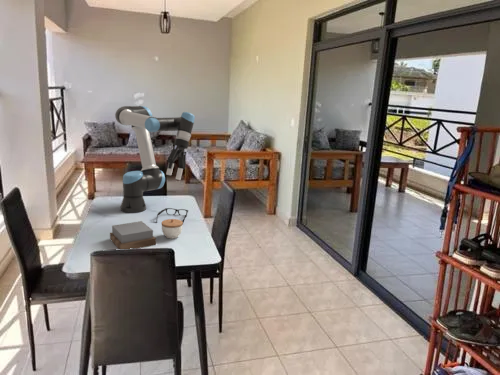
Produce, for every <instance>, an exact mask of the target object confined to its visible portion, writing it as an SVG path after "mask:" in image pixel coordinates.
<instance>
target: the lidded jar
mask: <svg viewBox="0 0 500 375" xmlns="http://www.w3.org/2000/svg"><path fill="white" fill-rule="evenodd" d="M182 221H183V220H182V219H181V220H180V219H176V218H168V219H164V220H162V221H161V232H162V233H163V235H164V236H165V237H166V239H176V238H177V239H178V237H179V236H180V235H181V233H182V230H183V225H184V223H183V222H182Z"/></svg>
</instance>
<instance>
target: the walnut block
mask: <svg viewBox="0 0 500 375" xmlns="http://www.w3.org/2000/svg"><path fill="white" fill-rule="evenodd" d="M109 239H111V240H112V241H111V240H110V241H111V242H112V243H113V244H114V245H115V247H116V248H117V249H118V250H119V249H130V248H136V249H139V248H140V247H141V248H145V247H146V248H147V247H151V246H156V245H157V238H156V237H155V236H154V235H153V238H149V239H144V240H138V241H133V242H127V243H121V242H120V241H119V240H118V239H117V238H116V237H115V236H114V234H113V233H112V232H109ZM130 250H131V249H130Z"/></svg>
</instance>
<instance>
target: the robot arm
mask: <svg viewBox="0 0 500 375" xmlns="http://www.w3.org/2000/svg"><path fill="white" fill-rule="evenodd" d="M114 115H115V116H114V118H115V120H116V122H117V123H118V124H120V125H123V126H131V129H132V130H133V131H134V132H135V133H134V134H135V137H136V141H137V142H136V143H137V147H138V151H139V157H140V164H141V167H142V168H141V170H132V171H127V172H126V173H124V174H123V176H122V192H123V195H122V196H123V197H122V200H121V204H120V211H121V212H124V213H130V214H131V213H132V214H134V213H142V212H144V211H146V210H147V204H146V201H145V199H144V192H148V191H154V190H155V191H156V190H159V189H162V188H163V187H164V185H165V182H166V177H165V173H164V171H162V170H160V167H159V166H158V165H157V164H156V163H157V162H156V158H155V154H154V148H153V143H152V139H151V134H150V133H156V132H177V133H176V135H175V138H176V139H175V141H174V144H173V146H172V147H173V148H172V150H171V151H170V154H169V155H168V157H167V160H166V161H167V163H168V165H167V169H166V175H167V176H172V175H173V174H172V173H173V169H174V167H175V161H176V160H177V159H178V167H177V172H176V176H175V180H178V181H181V179H182V175H183V170H185V169H186V163H187V162H186V159H187V151H185V150H186V149H188V148H189V144H190V139H191V138H192V132H193V127H194V124H195V117H196V116H195V115H194V114H193V113H191V112H187V111H183V112H182V113H181V116H179V117H178V116H177V117H156V116H153V114H152V110H150V108H148V107H147V106H142V105H124V106H121V107H119V108H117V110H116V111H115V114H114Z"/></svg>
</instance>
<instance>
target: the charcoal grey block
mask: <svg viewBox="0 0 500 375" xmlns="http://www.w3.org/2000/svg"><path fill="white" fill-rule="evenodd" d="M111 233H113V234H114V236H115V237H116V238H117V239H118V240H119V241H120V242H121V243H127V242H133V241H138V240H144V239H149V238H153V236H154V230H153V229H152V228H151V227H150V226H149V225H148V224H146V223H145V222H143V221H142V220H140V221H133V222H127V223H121V224H120V223H119V224H114V225H111Z"/></svg>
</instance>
